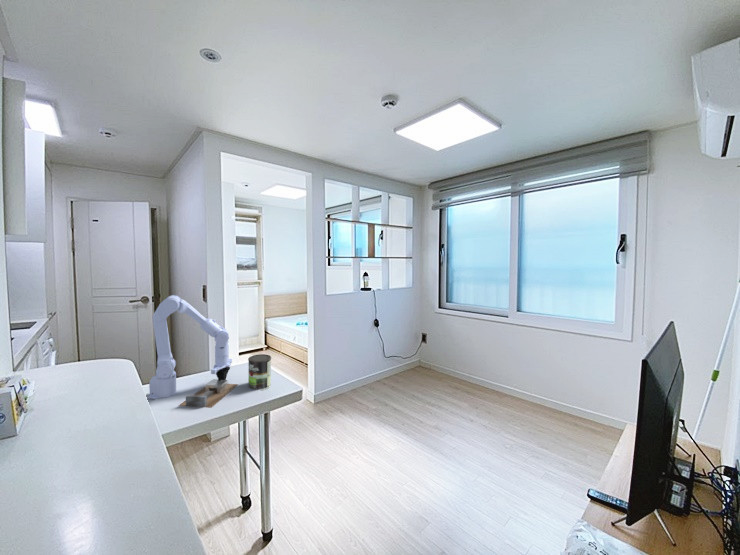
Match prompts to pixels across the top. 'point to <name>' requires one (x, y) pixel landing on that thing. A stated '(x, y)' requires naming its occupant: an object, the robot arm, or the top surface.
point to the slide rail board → (214, 397)
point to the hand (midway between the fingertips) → (222, 383)
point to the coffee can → (259, 371)
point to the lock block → (216, 385)
